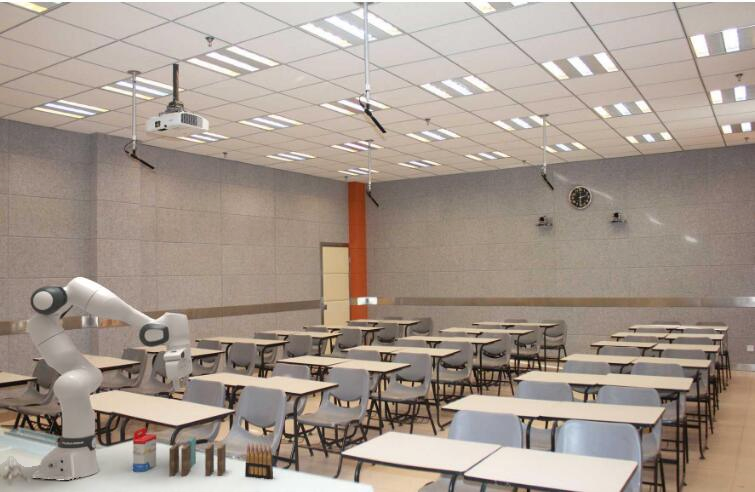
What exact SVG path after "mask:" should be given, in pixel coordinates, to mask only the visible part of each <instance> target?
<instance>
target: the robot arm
mask: <svg viewBox="0 0 755 492" xmlns="http://www.w3.org/2000/svg"><path fill="white" fill-rule="evenodd" d="M29 301H30V306H31V308H32V310H34V311H35V312H36V314H34V315H32V316H31V317H30V318H29V319H28V321H27V323H26V329H27V331H28V334H29V336H30V339H31V341H32V342H33V344H34V346H35V348H36V349H37V351H38V352H39V353H40V355H41V357H42V358H43V359H44V361H45V363H46V364H47V365H48V366H49V367H50V368H52V369H54V370H55V371H56V372H57V373H58V374H60V376H59V377H58V378H57V379H56V380H55V382H54V384H53V389H52V391H53V394H54V395H55V397H56V398H57V399H58V402H59V407H60V410H61V416H62V417H61V419H62V421H61V422H62V424H61V425H62V428H61V429H62V432H61V433H62V434H61V436H58V437H57V438H56V439H55V442H54V443H55V444H56V443H57V444H56V445H57V446H55V448H53V449H52V450H51V451H49V452H48V453H47V454H46V455H45V456H43V458H42V459H41V461H40V464H39V469H38V470H36V471H35V472H34V473H33V474H32V477H35V478H46V479H48V478H49V479H64V480H69V481H71V480H70V479H72V480H75V479H74V478H76V479H80V478H79V477H81V478H85V477H88V476H92V475H94V474H97V473H98V472H99V471H100V467H99V463H98V459H97V452H96V449H97V432H96V412H95V409H94V408H93V406H92V402H91V397H90V395H91V394H92V393H94V392H96V391H97V390H98V388H99V387H100V386H101V384H102V382H103V372H102V371H101V370H100V368H98V367H97V366H94V365H93V364H92V363H91V362H90V361H89V360H88V359H87V358H86V357H85V356H84V355H83V354H82V353H81V352H80V351H79V350H78V348H77V347H76V345H75V344H74V343H73V341H72V340H71V338H70V337H69V335H68V333H67V331H66V330H65V328H64V327H63V326H62V324H61V321H60V319H63V318H64V316H66V315H67V314H68V312H69V311H71V309H72V308H73V307H74V306H76V307H78V308H80V309H81V310H83V311H85V312H86V313H87V314H90V315H92V316H94V317H97V318H100V319H101V320H116V321H120V322H123V323H125V324H128V325H130V326H131V327H133V328H135V329H137V330H139V332H138V338H139V341H140V342H141V344H142V345H144V346H145V347H147V348H148V347H149V348H156V347H159V346H164V345H166V347H165V348H166V350H165V353H164V354H163V361H164V362H165V365H164V366H165V373H166V379H167V381H168V382H172V385H173V388H174V392H180V391H181V390H182V389H181V385H180V379H182V387H183V388H187V387H188V386H189V378H190V375H191V374H192V373H193V370H194V368H193V367H194V366H193V359H192V352H191V350H192V349H191V341H190V326H189V320H188V319H189V318H188V316H187V315H186V313H184V312H183V311H178V310H177V311H175V310H173V311H172V310H170V311H166V312H165V313H164V314H162V315H161V316H160V317H158V318H153V317H150V316H149V315H147V314H145V313H143V312H141V311H139V310H138V309H137V308H135V307H133V306H131V305H129V304H128V303H127V302H126V301H124V300H123V299H121V298H120V297H119V296H118V295H116V294H115V293H113V292H112V291H111V290H109V289H108V288H107V287H105V286H103V285H101V284H99V283H98V282H96V281H93V280H91V279H89V278H86V277H82V276H77V277H75V278H73V279H71V280H70V281H69V282H68V284H67V285H65V286H60V285H59V286H58V285H45V286H41V287H38V288H37V289H36V290H35V291H34V292H33V293H32V294H31V295H30V299H29ZM32 477H31V478H32Z"/></svg>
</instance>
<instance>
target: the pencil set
mask: <svg viewBox="0 0 755 492" xmlns="http://www.w3.org/2000/svg"><path fill="white" fill-rule="evenodd" d="M272 457H273V455H272V448H271V445H270V444H269V445H268V448H267V445H266V444H265V445H264V446H263V445H262V444H260V446H259V445H258V444H257V443H256V444H255V445H254V443H251V445H250V443H249V442H248V443H247V445H246V457H245V461H246V462H245V470H244V476H245V477H246V478H253V479H254V477H255V479H261V478H264V479H263V480H269V479H271V480H272V479H274V470H273V469H274V465H273V458H272Z"/></svg>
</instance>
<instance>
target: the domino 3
mask: <svg viewBox="0 0 755 492" xmlns="http://www.w3.org/2000/svg"><path fill="white" fill-rule="evenodd" d="M186 444H191V468H193V466H195V465H196V463H197V459H196V458H197V456H196V455H197V445H196V444H197V438H196V436H193V437H190V438H189V439H188V440H187V441H186Z"/></svg>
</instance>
